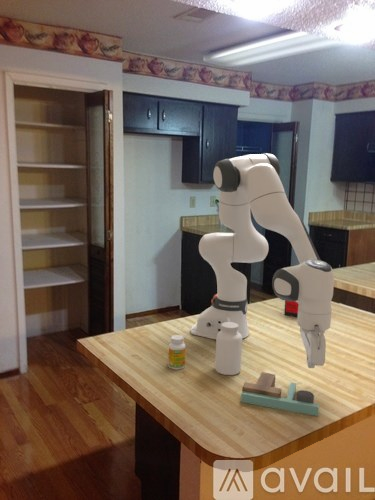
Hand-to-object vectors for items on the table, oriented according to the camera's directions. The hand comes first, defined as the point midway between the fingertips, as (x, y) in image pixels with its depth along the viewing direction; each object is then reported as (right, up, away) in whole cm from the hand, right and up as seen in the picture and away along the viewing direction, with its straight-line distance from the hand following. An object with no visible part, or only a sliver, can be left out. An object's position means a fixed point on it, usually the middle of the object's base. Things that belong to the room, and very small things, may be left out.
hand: (310, 365), depth 124 cm
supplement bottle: (-38, -5, +16) cm, 42 cm away
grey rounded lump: (-4, -9, -7) cm, 12 cm away
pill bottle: (-22, -5, +14) cm, 26 cm away
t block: (-13, -8, 0) cm, 15 cm away
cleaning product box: (+16, +4, +74) cm, 76 cm away
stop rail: (-9, -8, -3) cm, 12 cm away
